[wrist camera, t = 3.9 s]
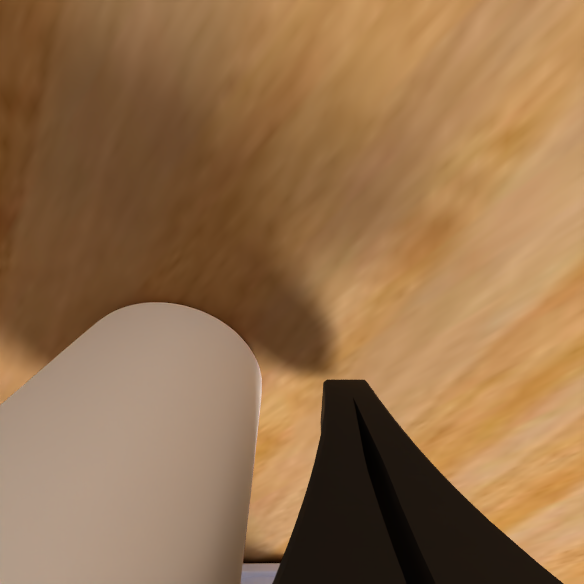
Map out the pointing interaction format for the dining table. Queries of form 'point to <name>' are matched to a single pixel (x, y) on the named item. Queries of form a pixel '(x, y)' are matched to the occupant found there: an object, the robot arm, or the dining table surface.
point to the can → (132, 455)
